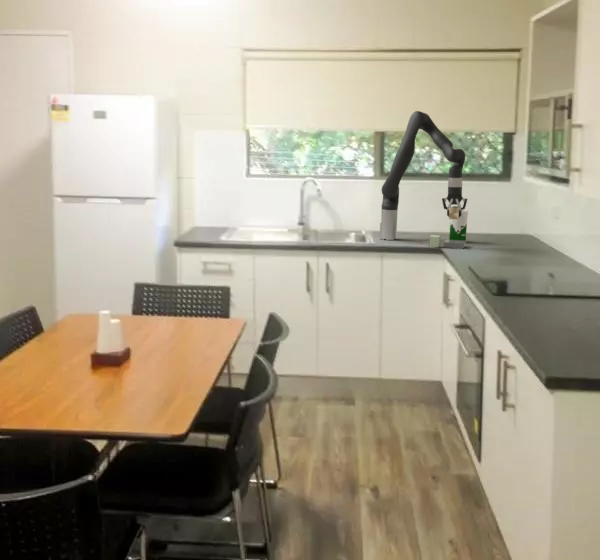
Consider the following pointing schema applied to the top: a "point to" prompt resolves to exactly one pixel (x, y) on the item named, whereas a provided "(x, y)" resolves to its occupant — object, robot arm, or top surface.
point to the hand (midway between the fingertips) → (454, 216)
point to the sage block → (434, 241)
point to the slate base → (454, 243)
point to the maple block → (453, 213)
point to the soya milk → (458, 227)
